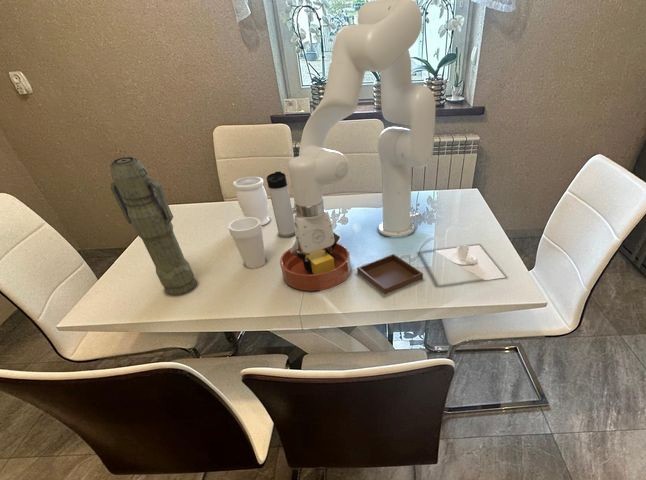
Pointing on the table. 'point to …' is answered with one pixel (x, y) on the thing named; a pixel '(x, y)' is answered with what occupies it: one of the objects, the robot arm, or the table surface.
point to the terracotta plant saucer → (307, 281)
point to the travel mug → (281, 204)
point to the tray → (389, 274)
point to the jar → (252, 198)
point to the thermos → (151, 223)
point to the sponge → (321, 262)
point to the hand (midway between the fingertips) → (319, 267)
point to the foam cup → (249, 240)
